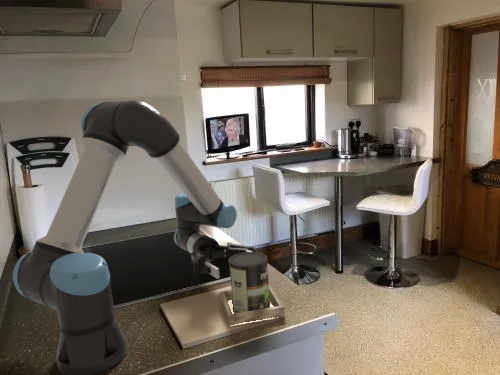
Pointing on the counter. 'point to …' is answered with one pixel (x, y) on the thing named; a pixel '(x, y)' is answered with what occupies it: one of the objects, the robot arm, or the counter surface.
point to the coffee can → (249, 281)
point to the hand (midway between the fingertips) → (239, 267)
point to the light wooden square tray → (254, 314)
